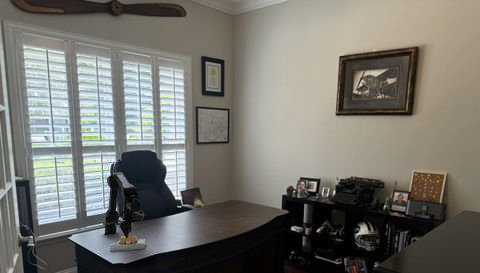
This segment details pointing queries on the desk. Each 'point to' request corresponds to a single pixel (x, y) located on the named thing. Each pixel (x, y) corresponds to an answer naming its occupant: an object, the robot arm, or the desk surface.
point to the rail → (127, 245)
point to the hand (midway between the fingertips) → (128, 235)
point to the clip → (128, 239)
